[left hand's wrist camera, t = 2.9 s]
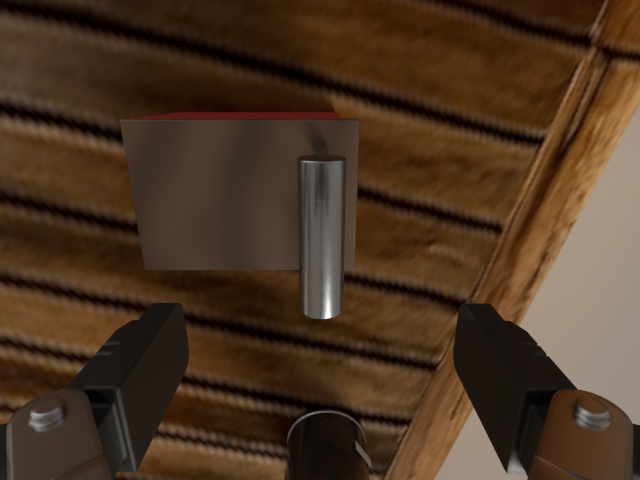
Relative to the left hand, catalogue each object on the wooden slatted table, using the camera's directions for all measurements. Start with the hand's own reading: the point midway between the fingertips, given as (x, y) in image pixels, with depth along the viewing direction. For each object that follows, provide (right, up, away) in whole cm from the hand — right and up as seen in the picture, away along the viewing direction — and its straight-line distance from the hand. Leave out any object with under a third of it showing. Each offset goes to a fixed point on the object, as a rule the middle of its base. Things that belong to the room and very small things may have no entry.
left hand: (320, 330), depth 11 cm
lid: (-5, +6, +15) cm, 17 cm away
